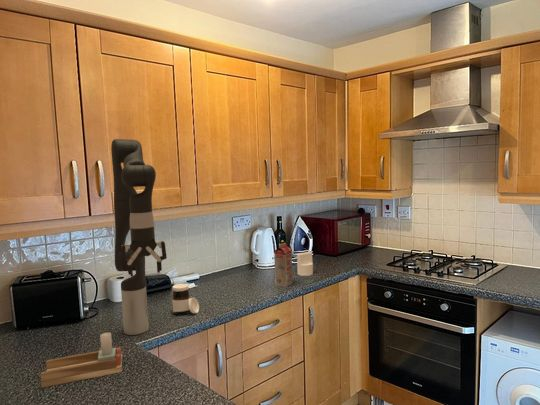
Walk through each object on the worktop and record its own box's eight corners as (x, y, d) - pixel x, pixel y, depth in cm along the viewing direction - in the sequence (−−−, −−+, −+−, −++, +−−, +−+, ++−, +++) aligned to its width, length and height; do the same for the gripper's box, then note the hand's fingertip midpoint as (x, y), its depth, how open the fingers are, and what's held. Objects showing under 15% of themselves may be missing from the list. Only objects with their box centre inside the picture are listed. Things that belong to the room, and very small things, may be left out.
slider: (99, 359, 126) (97, 332, 126) (116, 356, 128) (114, 329, 127) (98, 367, 121) (96, 339, 120) (115, 364, 123) (113, 337, 122)
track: (48, 371, 123) (47, 357, 123) (122, 357, 131) (121, 344, 130) (41, 387, 114) (40, 373, 114) (121, 371, 121) (120, 358, 121)
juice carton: (275, 285, 206) (274, 244, 204) (282, 281, 211) (280, 242, 209) (286, 287, 202) (284, 245, 200) (292, 283, 208) (291, 243, 206)
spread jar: (172, 308, 176) (171, 283, 175) (198, 305, 179) (196, 281, 178) (173, 318, 164) (171, 291, 163) (200, 315, 167) (198, 288, 166)
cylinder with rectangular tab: (307, 270, 232) (306, 251, 231) (316, 274, 225) (315, 253, 224) (294, 273, 228) (293, 253, 227) (303, 276, 220) (302, 255, 219)
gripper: (163, 222, 134) (166, 268, 135) (119, 226, 129) (122, 274, 131) (165, 225, 127) (168, 274, 128) (118, 229, 122) (122, 279, 124)
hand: (145, 274), depth 129 cm, fingers open, 8 cm apart
